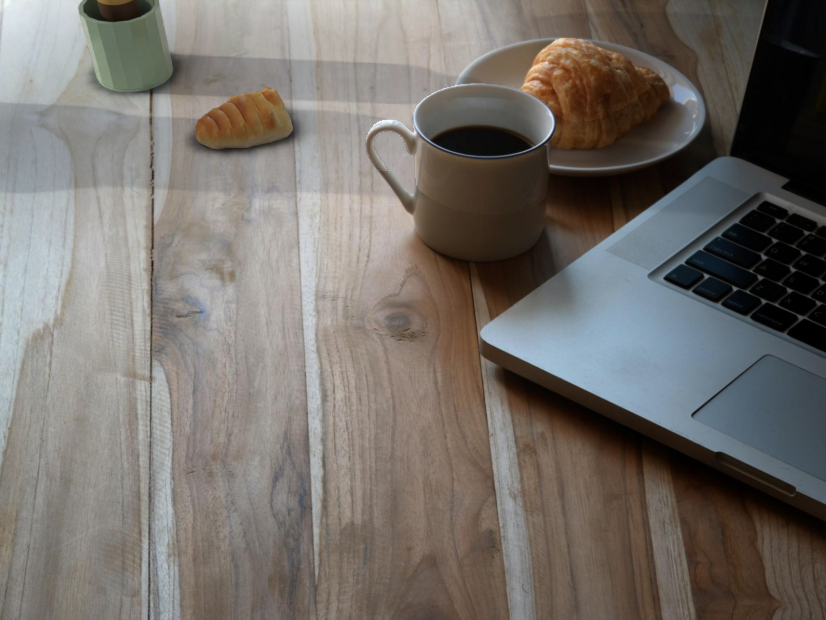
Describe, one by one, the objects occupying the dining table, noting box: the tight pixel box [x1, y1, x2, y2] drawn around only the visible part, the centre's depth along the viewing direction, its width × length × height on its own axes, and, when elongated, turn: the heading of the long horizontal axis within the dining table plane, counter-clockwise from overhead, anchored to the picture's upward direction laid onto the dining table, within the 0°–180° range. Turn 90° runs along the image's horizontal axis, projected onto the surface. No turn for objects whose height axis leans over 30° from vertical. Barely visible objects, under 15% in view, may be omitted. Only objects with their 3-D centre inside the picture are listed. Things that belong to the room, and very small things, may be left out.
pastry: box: [194, 86, 294, 150], centre depth 93 cm, size 9×7×4 cm
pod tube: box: [97, 0, 142, 22], centre depth 98 cm, size 4×4×9 cm
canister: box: [77, 0, 174, 93], centre depth 99 cm, size 8×8×8 cm
